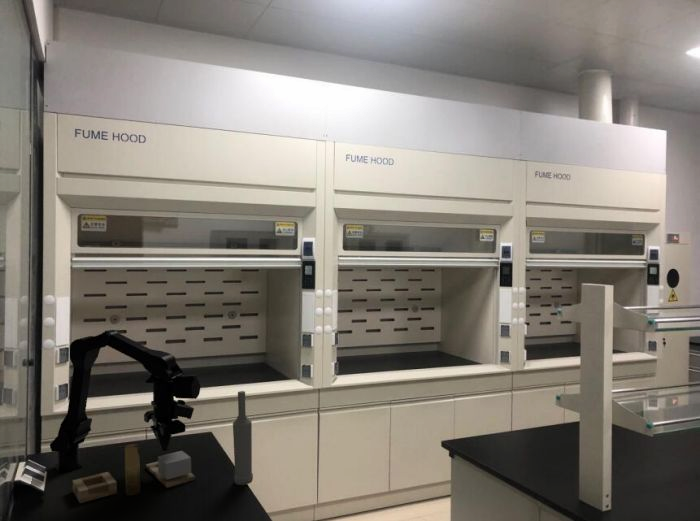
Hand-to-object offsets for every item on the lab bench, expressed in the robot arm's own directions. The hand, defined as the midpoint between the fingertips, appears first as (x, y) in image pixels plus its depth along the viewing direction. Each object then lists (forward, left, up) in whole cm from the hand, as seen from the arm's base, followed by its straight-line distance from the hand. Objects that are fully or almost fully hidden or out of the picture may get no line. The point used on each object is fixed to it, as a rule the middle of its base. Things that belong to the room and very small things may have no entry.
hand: (164, 450), depth 158 cm
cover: (+6, +1, -5) cm, 8 cm away
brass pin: (+8, -11, -6) cm, 15 cm away
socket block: (+1, -19, -6) cm, 20 cm away
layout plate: (+2, +1, -6) cm, 7 cm away
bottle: (+21, +15, -6) cm, 27 cm away
